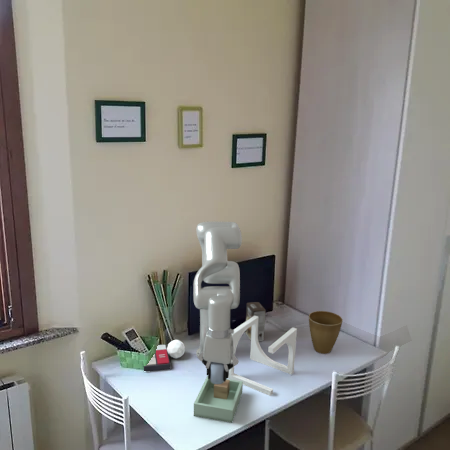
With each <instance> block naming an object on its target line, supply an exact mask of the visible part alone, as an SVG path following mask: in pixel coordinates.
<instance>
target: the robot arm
mask: <svg viewBox="0 0 450 450" xmlns="http://www.w3.org/2000/svg"><path fill="white" fill-rule="evenodd" d="M195 230H196V231H195V232H196V237H197V240H198V243H199V245H200V248H201V267H200V268H199V269H198V271H197V272H196V274H195V276H194V279H193V284H192V285H193V294H192V295H193V303H194V306H195V308H196V309H198V310H199V317H200V318H199V322H200V323H199V324H200V325H199V347H198V348H197V349H196V351H195V354H196V357H197V359H198V360H199V361H200V362H202V364H203V365H204V366H205V368H206V376H208V379H210V377H211V362H216V363H222V364H224V368H225V370H224V374H223V381H226V379H228V377H229V370H230V369H231V368H232V367H233V366H234V367H235V366H237V365H239V363H240V361H239V359H238V358H237V357H236V356H235V355H236V354H235V355H234V350H233V338H232V334H234V329H232V328H231V310H233V309H237V308H238V307H239V305H240V300H241V299H240V298H241V293H240V292H241V290H240V289H241V285H240V284H241V280H240V279H241V277H240V276H241V275H240V271H241V270H240V267H239V264H238V263H237V262H235V261H232V260H228V250H237V249H240V248H241V247H242V244H243V243H242V241H243V236H242V231H241V229H240V226H239V224H238V223H237V222H235V221H202V222H199V223H198V224H197V225H196V229H195ZM202 282H204V283H206V284H212V285H213V284H216V286H204V287H202ZM217 284H218V286H217ZM220 284H225V285H226V284H227V285H228V286H219V285H220ZM231 360H233V362H231Z"/></svg>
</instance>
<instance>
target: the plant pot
mask: <svg viewBox="0 0 450 450" xmlns="http://www.w3.org/2000/svg"><path fill="white" fill-rule="evenodd" d="M343 320H344V319H343V317H342V316H340V315H339V314H337V313H335V312H331V311H325V310H316V311H312V312H310V313H309V314H308V326H309V334H310V338H311V342H312V346H313V349H314V351H315V352H316V353H318V354H320V355H321V354H322V355H327V354H330V353H331V352H332V350H333V348H334V346H335V344H336V342H337V340H338V337H339V335H340V332H341V329H342V325H343Z"/></svg>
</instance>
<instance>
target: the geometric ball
mask: <svg viewBox="0 0 450 450" xmlns="http://www.w3.org/2000/svg"><path fill="white" fill-rule="evenodd" d="M185 350H186V347H185V343H183V342H182V341H181V340H180V339H174V340H171V341H170V342H169V343H168V344H167V351H168V355H169V357H171V358H173V359H179V358H181V357H182V356H183V355H184V354H185V352H186V351H185Z"/></svg>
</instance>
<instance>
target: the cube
mask: <svg viewBox="0 0 450 450" xmlns="http://www.w3.org/2000/svg"><path fill="white" fill-rule="evenodd" d="M229 391H230V380H226V381H224V382H223V383H222V384H214V398H220V399H227V397H228V395H229Z"/></svg>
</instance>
